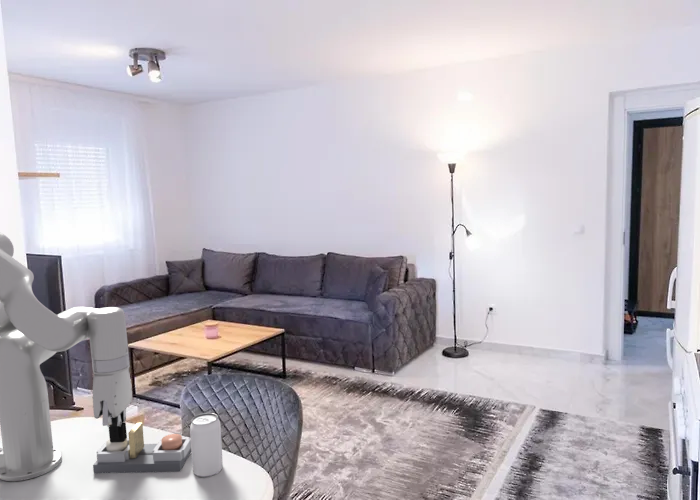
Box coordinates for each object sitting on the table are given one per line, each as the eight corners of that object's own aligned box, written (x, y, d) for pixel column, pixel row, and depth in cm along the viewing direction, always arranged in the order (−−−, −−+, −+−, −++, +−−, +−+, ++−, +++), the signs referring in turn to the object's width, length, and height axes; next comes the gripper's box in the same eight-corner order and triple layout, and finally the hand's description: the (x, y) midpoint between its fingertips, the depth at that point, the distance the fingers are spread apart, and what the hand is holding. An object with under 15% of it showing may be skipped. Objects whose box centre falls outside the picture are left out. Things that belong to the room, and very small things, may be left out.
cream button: (103, 454, 118) (102, 445, 117) (111, 444, 122) (111, 436, 122) (122, 453, 118) (122, 445, 117) (130, 444, 122) (130, 435, 122)
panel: (93, 473, 116) (92, 456, 115) (111, 452, 125) (110, 436, 124) (182, 471, 116) (181, 454, 115) (194, 450, 125) (193, 434, 124)
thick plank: (130, 458, 118) (128, 432, 117) (139, 447, 122) (137, 422, 122) (135, 458, 118) (133, 432, 117) (144, 446, 122) (142, 422, 122)
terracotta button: (159, 451, 118) (158, 443, 117) (165, 442, 122) (165, 434, 122) (178, 451, 118) (178, 443, 117) (184, 441, 122) (184, 433, 122)
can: (214, 479, 113) (211, 426, 111) (187, 476, 114) (183, 424, 112) (227, 463, 119) (225, 413, 117) (201, 461, 120) (198, 411, 119)
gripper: (109, 352, 125) (116, 426, 127) (77, 376, 110) (86, 458, 112) (140, 351, 125) (147, 425, 127) (113, 374, 110) (121, 457, 112)
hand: (118, 440), depth 120 cm, fingers closed
